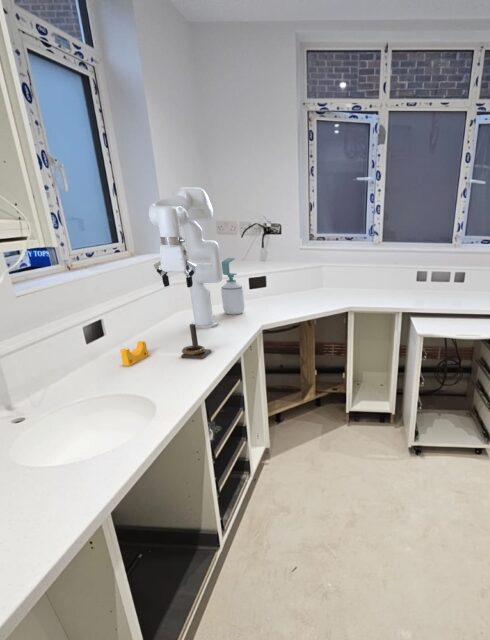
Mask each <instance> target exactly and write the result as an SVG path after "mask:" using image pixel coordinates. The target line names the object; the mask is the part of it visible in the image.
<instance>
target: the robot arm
mask: <svg viewBox="0 0 490 640" xmlns="http://www.w3.org/2000/svg"><path fill="white" fill-rule="evenodd" d="M213 209H214V208H213V206H212V203H211V201H210V198H209V195H208V194H207V192H206V191H205V190H204V189H203V188H201V187H177V188H176V189H175V190H174V191H173V193H171V195H170V196H166V197H163V198H160V199H157V200H155V201H153V202H152V203H151V204H150V206H149V209H148V218H149V221H150V223H151V224H152V225H153V226H154V227H158V231H159V237H160V246H159V261H157V262H155V263H154V264H153V267H154V269H155V270H156V272H157V273H158V275H159V277H161V279H162V280H161V281H162V284H163V287H164V288H166V287H169V286H170V279H169V275H168V273H183V274H184V276H186V277H185V281H186V287H187V288H189V292H190V300H191V307H192V313H193V315H192V316H193V322H192V323H191V324H195V326H196V328H214V327H216V326H217V325H218V322H217V321H215V320H214V318H215V317H216V316H215V314H214V313H213V305H212V299H211V298H212V297H211V291H210V289H209V288H208V286H207V285H206V284H217V283H218V284H219V283H220V282H222V281H223V271H222V255H221V248H220V245H219V243H218V242H217V241H216V240H212V239H211V240H210V239H208V240H205V239H204V231H203V228H202V227H201V225H200V224H199V223H198V221H200V222H201V221H205V222H206V221H207V222H208V221H211V220H212V219H213V216H214V210H213ZM181 227H182V229H183V232H184V233H183V234H184V238H183V236H182V233H181ZM183 243H185V245H184V244H183ZM192 261H198V263H195V262H194V263H193V262H192ZM201 261H204V262H205V261H207V262H209V263H204V262H203V263H201ZM199 262H200V263H199ZM210 262H211V263H210Z"/></svg>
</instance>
